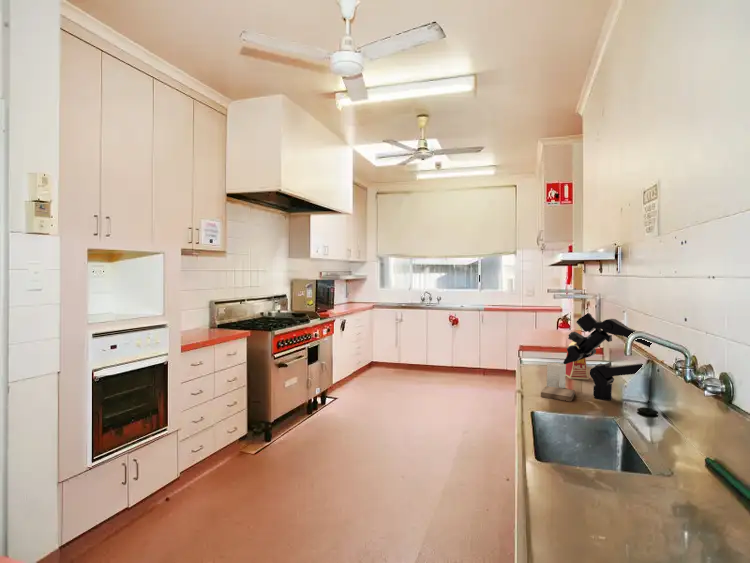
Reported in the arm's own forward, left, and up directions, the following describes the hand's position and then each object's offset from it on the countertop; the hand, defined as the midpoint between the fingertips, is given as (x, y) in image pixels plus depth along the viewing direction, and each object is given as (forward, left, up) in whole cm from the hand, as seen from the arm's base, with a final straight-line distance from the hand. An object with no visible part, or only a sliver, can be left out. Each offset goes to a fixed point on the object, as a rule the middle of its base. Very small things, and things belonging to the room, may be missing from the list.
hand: (568, 362), depth 201 cm
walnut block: (+2, +12, -13) cm, 18 cm away
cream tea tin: (+5, -2, -13) cm, 14 cm away
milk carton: (0, -31, -13) cm, 33 cm away
